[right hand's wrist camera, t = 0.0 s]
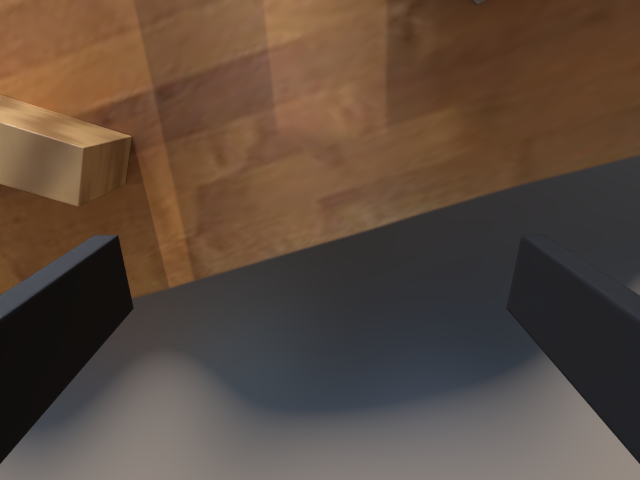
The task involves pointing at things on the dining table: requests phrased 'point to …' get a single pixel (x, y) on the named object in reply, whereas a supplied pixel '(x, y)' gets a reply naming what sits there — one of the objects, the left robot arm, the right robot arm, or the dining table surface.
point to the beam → (59, 154)
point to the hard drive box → (478, 1)
